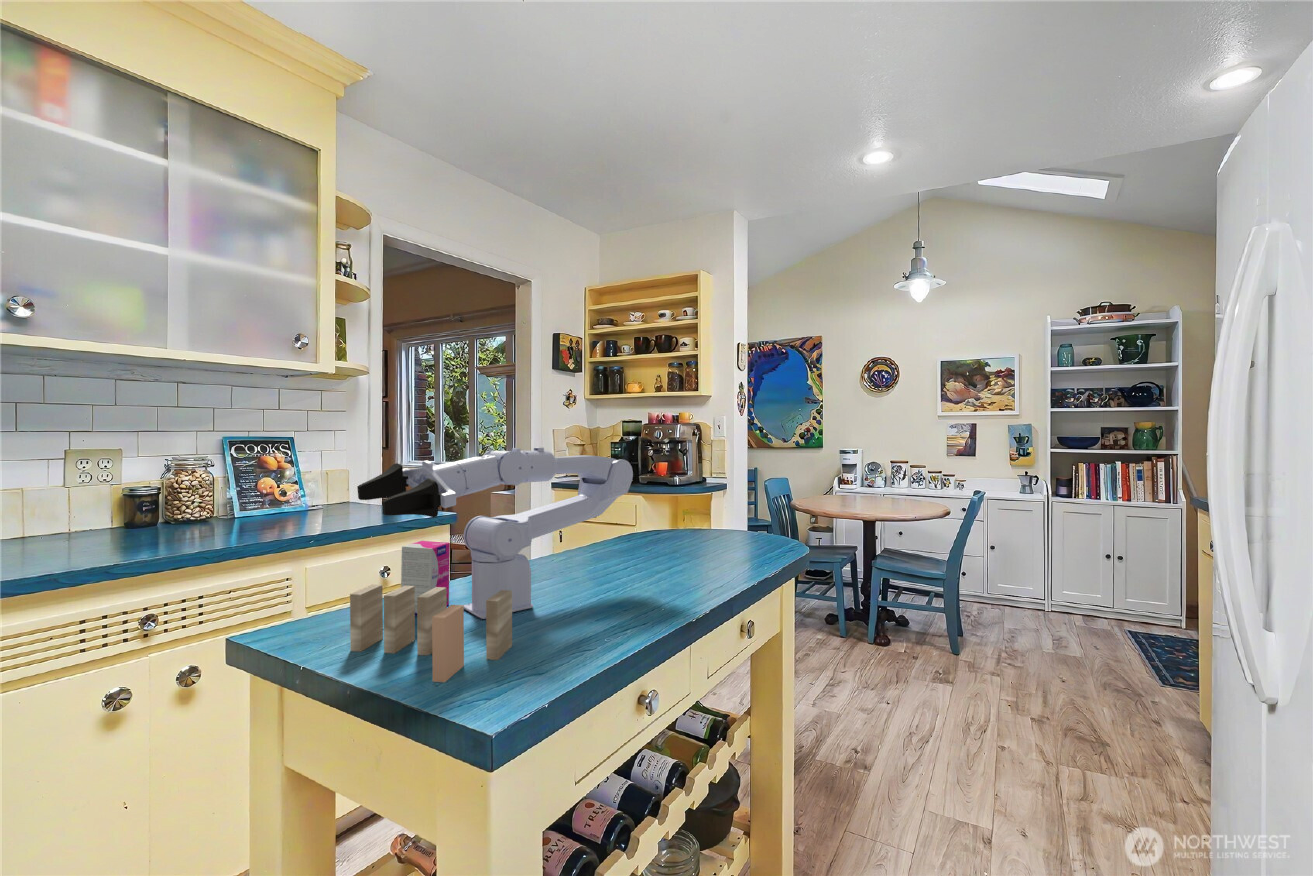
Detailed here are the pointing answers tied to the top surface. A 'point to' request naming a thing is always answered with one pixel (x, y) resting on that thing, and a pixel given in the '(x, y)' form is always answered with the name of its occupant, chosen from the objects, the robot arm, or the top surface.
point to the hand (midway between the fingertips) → (370, 500)
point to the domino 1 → (366, 617)
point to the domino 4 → (447, 642)
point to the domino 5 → (498, 624)
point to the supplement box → (426, 567)
